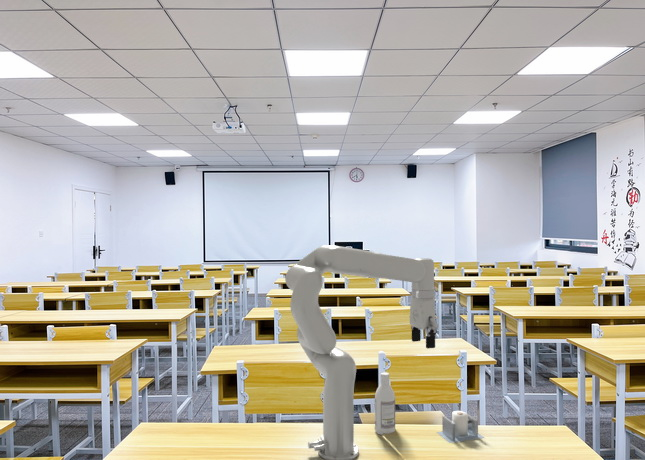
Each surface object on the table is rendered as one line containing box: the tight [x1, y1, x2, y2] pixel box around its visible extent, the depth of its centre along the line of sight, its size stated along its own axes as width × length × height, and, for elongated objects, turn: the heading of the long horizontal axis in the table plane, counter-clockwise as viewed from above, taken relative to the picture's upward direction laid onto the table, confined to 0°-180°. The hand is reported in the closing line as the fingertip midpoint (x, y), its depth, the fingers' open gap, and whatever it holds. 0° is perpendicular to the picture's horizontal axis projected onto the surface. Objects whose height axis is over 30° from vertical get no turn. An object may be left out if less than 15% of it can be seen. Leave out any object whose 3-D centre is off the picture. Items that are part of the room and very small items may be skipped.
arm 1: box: [441, 415, 455, 441], centre depth 146 cm, size 2×6×6 cm, turn 17°
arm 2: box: [466, 412, 479, 437], centre depth 148 cm, size 2×6×6 cm, turn 17°
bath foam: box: [374, 372, 396, 436], centre depth 152 cm, size 7×7×20 cm
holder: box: [436, 430, 485, 444], centre depth 147 cm, size 13×8×2 cm, turn 107°
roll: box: [451, 410, 469, 437], centre depth 147 cm, size 5×5×7 cm
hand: (423, 344), depth 151 cm, fingers open, 9 cm apart
